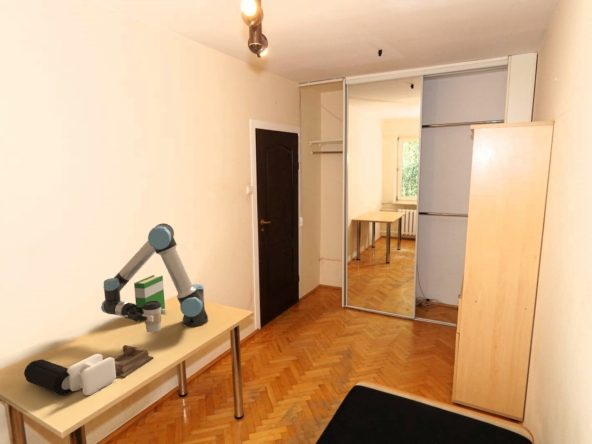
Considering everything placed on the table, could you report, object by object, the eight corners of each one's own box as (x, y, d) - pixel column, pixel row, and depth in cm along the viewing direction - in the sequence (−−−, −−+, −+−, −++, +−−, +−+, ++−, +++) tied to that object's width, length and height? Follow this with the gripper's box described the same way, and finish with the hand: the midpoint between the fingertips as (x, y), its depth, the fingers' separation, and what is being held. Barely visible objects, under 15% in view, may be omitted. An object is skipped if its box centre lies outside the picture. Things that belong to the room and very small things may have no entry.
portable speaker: (82, 388, 157) (80, 366, 155) (59, 401, 148) (56, 378, 147) (46, 374, 168) (44, 354, 166) (23, 386, 159) (20, 364, 158)
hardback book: (155, 309, 244) (153, 275, 241) (165, 310, 242) (162, 275, 239) (137, 320, 228) (134, 283, 224) (147, 321, 225) (144, 284, 222)
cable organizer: (83, 399, 149) (81, 373, 147) (68, 393, 154) (65, 367, 152) (116, 380, 162) (114, 356, 160) (101, 375, 167) (99, 351, 165)
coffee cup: (144, 327, 193) (142, 300, 191) (162, 324, 197) (160, 298, 194) (144, 334, 185) (142, 306, 183) (163, 331, 188) (161, 303, 186)
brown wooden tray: (97, 370, 170) (96, 360, 169) (128, 352, 187) (127, 343, 186) (123, 378, 164) (122, 367, 163) (153, 358, 180) (152, 349, 180)
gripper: (142, 309, 207) (174, 314, 198) (110, 324, 187) (144, 330, 179) (141, 296, 206) (173, 301, 197) (109, 310, 186) (143, 316, 177)
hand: (159, 315), depth 188 cm, fingers closed on coffee cup, 9 cm apart
